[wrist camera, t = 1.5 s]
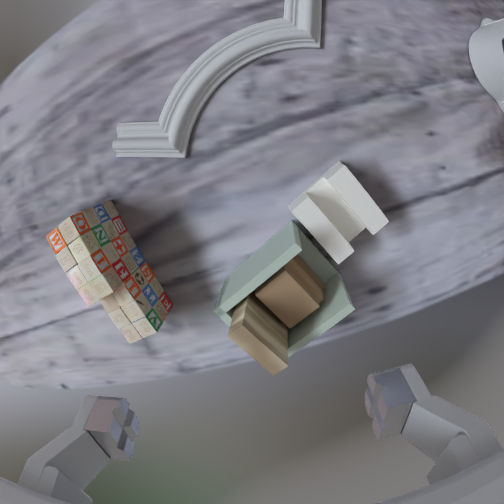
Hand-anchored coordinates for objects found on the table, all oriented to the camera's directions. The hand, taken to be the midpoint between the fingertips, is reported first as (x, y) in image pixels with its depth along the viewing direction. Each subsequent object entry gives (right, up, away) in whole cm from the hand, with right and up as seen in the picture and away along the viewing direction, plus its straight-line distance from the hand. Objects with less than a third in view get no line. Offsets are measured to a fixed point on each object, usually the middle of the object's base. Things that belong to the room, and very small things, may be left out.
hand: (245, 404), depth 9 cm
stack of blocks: (-21, +4, +43) cm, 48 cm away
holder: (+13, +11, +36) cm, 40 cm away
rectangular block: (+2, -2, +41) cm, 41 cm away
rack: (+5, +1, +41) cm, 41 cm away
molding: (-5, +33, +31) cm, 46 cm away
